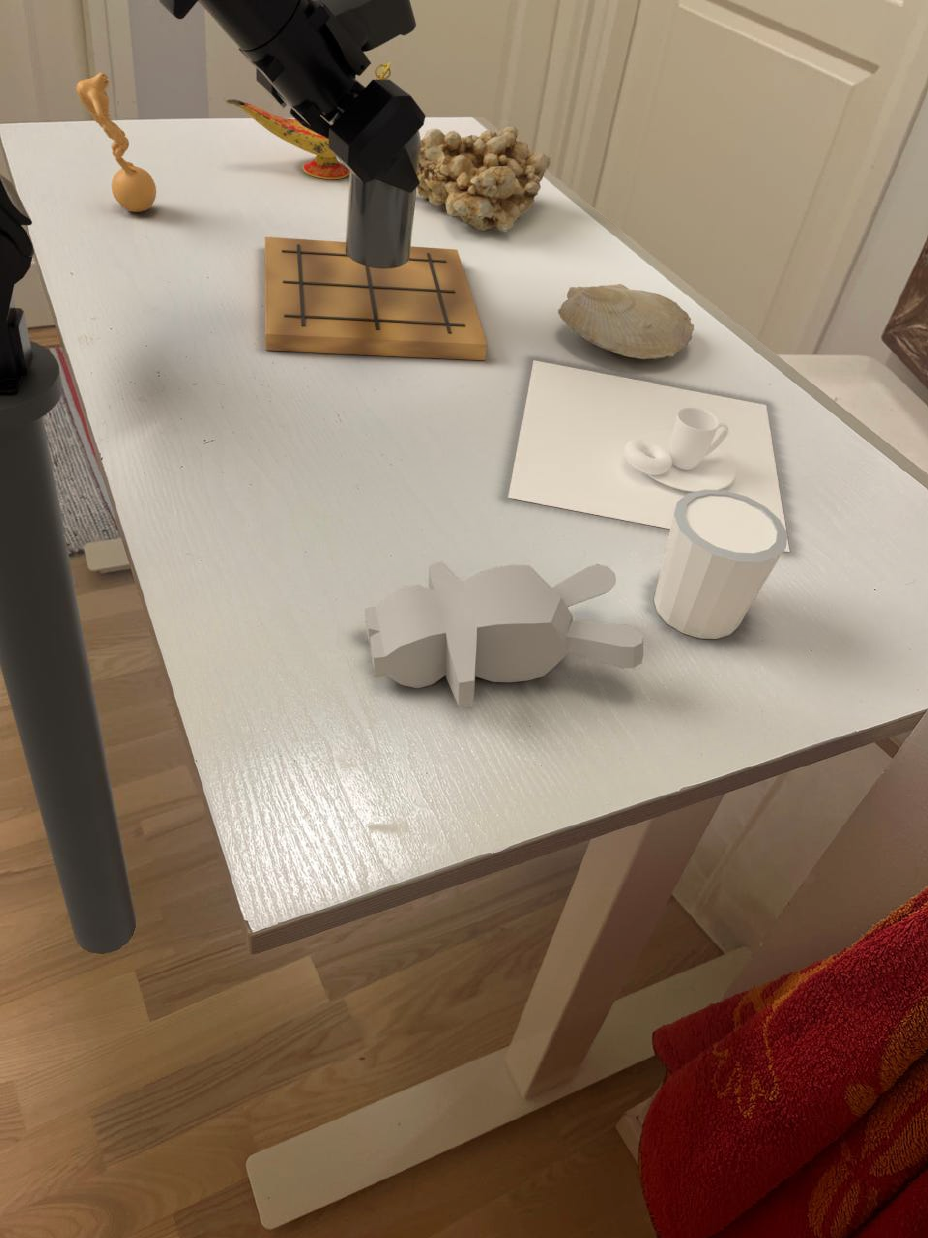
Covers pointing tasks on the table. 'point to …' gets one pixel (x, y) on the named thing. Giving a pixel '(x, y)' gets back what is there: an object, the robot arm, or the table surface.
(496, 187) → the mineral formation
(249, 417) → the table surface
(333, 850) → the table surface
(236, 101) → the magic lamp
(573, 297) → the seashell
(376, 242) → the dark domed cylinder
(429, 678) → the bunny figurine
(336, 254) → the board
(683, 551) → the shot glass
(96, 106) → the figurine
